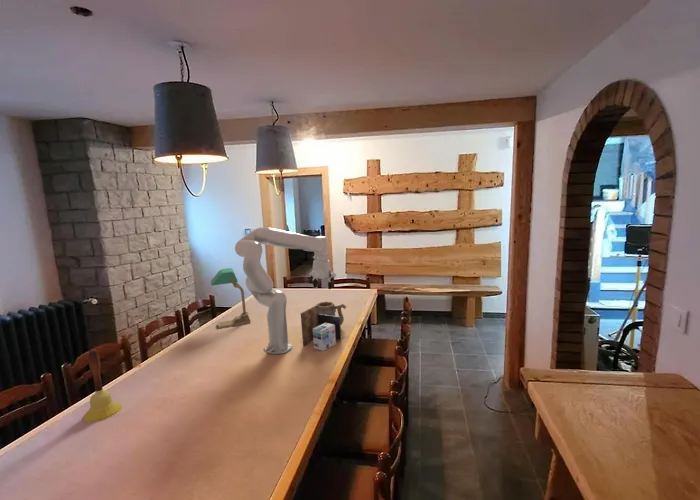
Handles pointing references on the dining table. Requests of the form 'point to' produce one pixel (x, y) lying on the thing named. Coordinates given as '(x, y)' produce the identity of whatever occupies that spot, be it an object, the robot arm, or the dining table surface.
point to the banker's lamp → (229, 277)
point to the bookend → (331, 320)
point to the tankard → (331, 309)
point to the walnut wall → (309, 324)
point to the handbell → (99, 394)
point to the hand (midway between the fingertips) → (322, 287)
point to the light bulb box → (324, 336)
